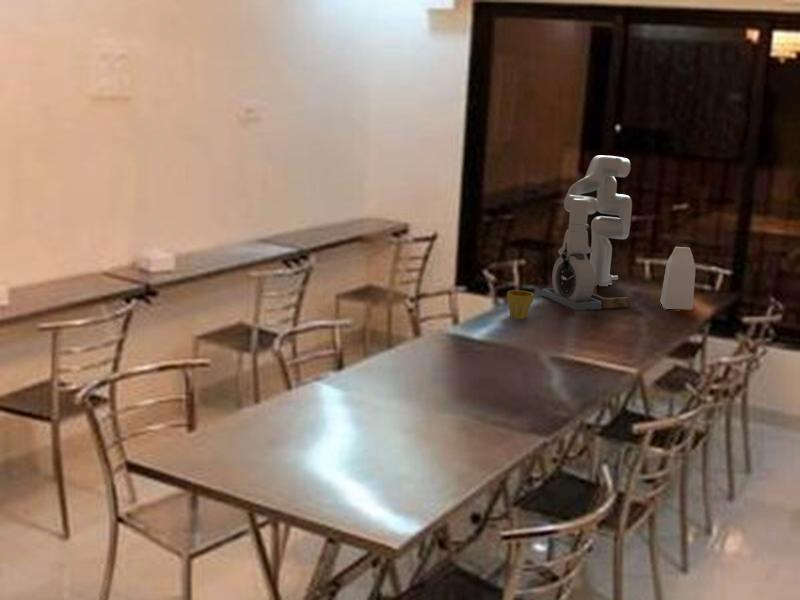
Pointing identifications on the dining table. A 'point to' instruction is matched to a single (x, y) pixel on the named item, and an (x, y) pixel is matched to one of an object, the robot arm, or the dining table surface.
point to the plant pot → (519, 303)
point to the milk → (679, 280)
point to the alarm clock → (574, 278)
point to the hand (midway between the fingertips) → (573, 268)
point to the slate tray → (584, 305)
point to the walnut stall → (610, 300)
